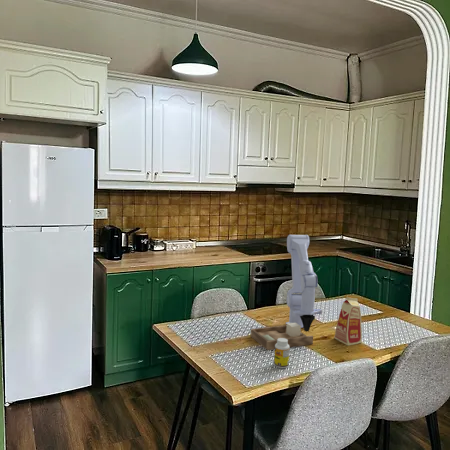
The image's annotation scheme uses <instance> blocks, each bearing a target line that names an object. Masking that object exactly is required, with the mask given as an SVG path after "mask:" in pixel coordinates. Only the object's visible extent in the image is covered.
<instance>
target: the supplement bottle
mask: <svg viewBox="0 0 450 450" xmlns="http://www.w3.org/2000/svg"><path fill="white" fill-rule="evenodd" d="M290 348H291V347H290V346H289V345H288V340H287V339H285V338H278V339H277V343H276V344H275V349H274V354H273V355H274V356H273V358H274V359H273V365H274V367H276V368H278V369H287V368H288V367H289V366H290V365H289V364H290V350H291V349H290Z"/></svg>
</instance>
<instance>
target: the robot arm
mask: <svg viewBox="0 0 450 450" xmlns="http://www.w3.org/2000/svg"><path fill="white" fill-rule="evenodd" d="M309 245H310V236H309V235H308V234H288V235H287V237H286V248H287V252H288V253H289V254H290V257H291V259H290V260H291V280H292V281H291V282H292V287H291V288H290V289H288V290H287V291H286V292H287V293H286V305H287V306H288V308H289V316H288V317H289V318H288V321H287V322H285V325H287V323H297V324H299V325H300V326H301V328H303V330H304V331H305V332H310V329H311V325H313V324H312V323H313V322H314V320H315V319H316V316H315V315H323V309H321V308H315V303H316V302H315V297H316V288H317V287H318V283H319V281H318V275H317V274H316V272H314V268H313V265H312V262H311V260H309V255H308V249H309Z"/></svg>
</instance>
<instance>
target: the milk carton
mask: <svg viewBox="0 0 450 450" xmlns="http://www.w3.org/2000/svg"><path fill="white" fill-rule="evenodd" d="M358 300H359V298H352V297H348V296H346V299H345V300H344V301H343V302H342V306H341V308H340V312H339V316H338V318H337V323H336V328H335V332H334V338H333V339H334V340H336V341H338V342H340V343H342V344H344V345H346V346H353V345H357V344H358V345H359V344H361V343H362V341H363V339H362V338H363V329H362V328H363V327H362V313H361V311H362V310H361V305H360V304H359V302H358Z"/></svg>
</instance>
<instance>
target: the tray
mask: <svg viewBox="0 0 450 450" xmlns="http://www.w3.org/2000/svg"><path fill="white" fill-rule="evenodd" d="M286 328H287V324H283V325H277V326H276V325H275V326H268V327H260V328H251V329H250V337H251V338H252V339H253V340H254V341H255V342H256V343H258V344H259V345H260V346H261V347H263V348H264V349H265V350H266V351H272V350H275V344H276V343H277V339H278V338H285V339H287V340H288V345H289V346H290V348H294V347H301V346H308V345H313V344H314V336H313V335H307V334H305V333H303V332H302V331H301V332H300V336H294V337H291V336H289V335H288V334H287V333H286Z"/></svg>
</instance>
